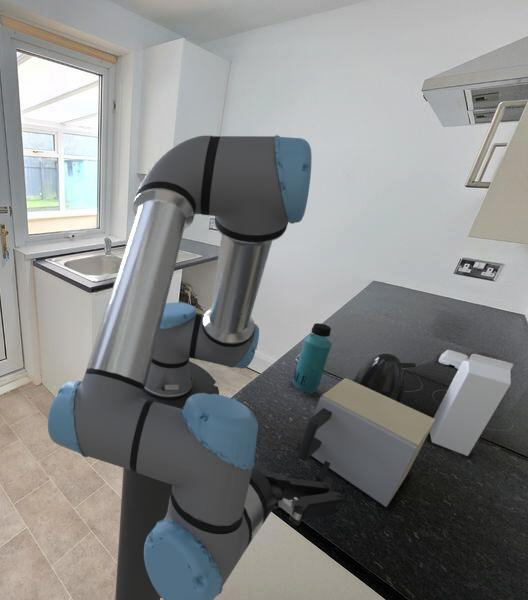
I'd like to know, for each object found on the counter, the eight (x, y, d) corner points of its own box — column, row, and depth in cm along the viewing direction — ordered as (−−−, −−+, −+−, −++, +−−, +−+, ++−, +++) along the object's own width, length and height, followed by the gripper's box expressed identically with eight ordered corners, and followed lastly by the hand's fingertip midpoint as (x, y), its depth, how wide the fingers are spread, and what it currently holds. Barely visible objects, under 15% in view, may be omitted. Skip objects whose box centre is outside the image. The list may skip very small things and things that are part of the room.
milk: (467, 456, 67) (520, 370, 59) (430, 442, 71) (475, 359, 62) (462, 439, 72) (510, 358, 64) (427, 427, 75) (469, 347, 67)
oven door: (372, 527, 52) (403, 467, 47) (286, 463, 63) (303, 408, 58) (388, 504, 56) (417, 446, 51) (304, 447, 67) (322, 395, 62)
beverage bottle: (319, 390, 87) (340, 326, 79) (312, 401, 82) (334, 334, 75) (294, 380, 91) (312, 317, 84) (286, 389, 86) (305, 324, 79)
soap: (441, 354, 110) (444, 346, 109) (468, 362, 105) (472, 355, 104) (437, 362, 105) (440, 354, 104) (465, 371, 100) (469, 363, 99)
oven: (388, 504, 56) (418, 445, 51) (304, 447, 67) (322, 394, 62) (407, 474, 62) (435, 419, 57) (327, 427, 73) (345, 377, 68)
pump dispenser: (399, 423, 76) (424, 370, 70) (349, 407, 80) (368, 356, 75) (391, 400, 84) (412, 351, 79) (346, 387, 89) (363, 340, 83)
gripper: (155, 466, 49) (216, 427, 65) (335, 610, 33) (357, 512, 49) (166, 424, 48) (226, 394, 64) (359, 553, 32) (374, 471, 48)
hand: (283, 445), depth 56 cm, fingers open, 13 cm apart
